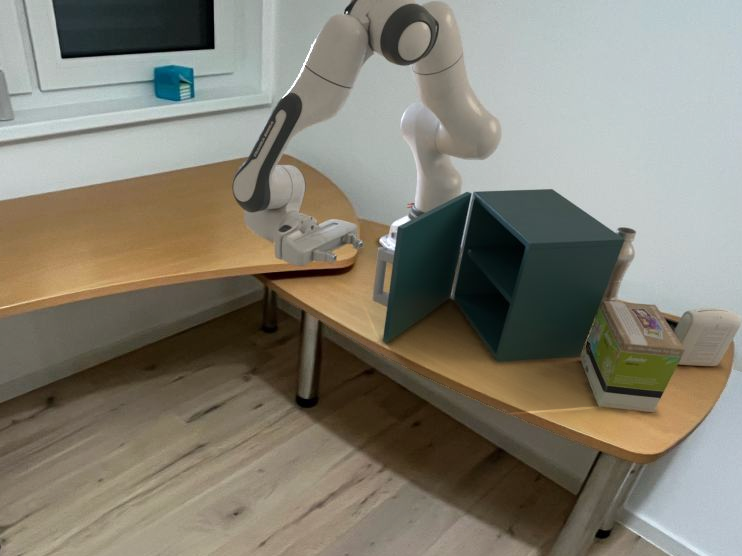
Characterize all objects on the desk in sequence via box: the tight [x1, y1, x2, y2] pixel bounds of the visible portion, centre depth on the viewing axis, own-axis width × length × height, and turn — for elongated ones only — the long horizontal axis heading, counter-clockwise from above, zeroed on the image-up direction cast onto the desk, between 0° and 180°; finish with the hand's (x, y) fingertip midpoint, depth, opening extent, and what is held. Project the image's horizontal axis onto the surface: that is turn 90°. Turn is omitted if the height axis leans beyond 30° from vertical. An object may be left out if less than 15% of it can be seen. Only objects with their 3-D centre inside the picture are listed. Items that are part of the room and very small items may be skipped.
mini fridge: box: [451, 188, 625, 363], centre depth 120 cm, size 18×26×26 cm
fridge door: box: [372, 191, 473, 343], centre depth 123 cm, size 7×26×26 cm, turn 137°
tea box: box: [580, 300, 685, 413], centre depth 105 cm, size 15×10×15 cm, turn 169°
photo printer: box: [674, 307, 742, 367], centre depth 113 cm, size 10×4×12 cm, turn 87°
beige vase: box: [597, 226, 637, 313], centre depth 127 cm, size 6×7×20 cm
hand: (348, 252), depth 122 cm, fingers open, 8 cm apart
